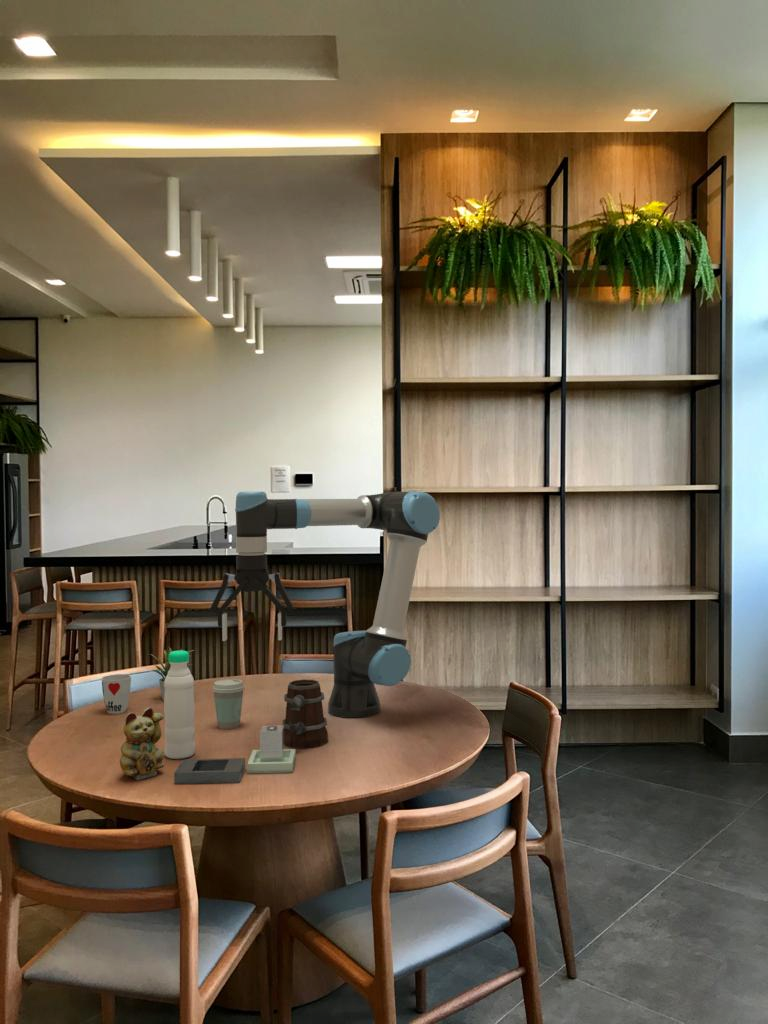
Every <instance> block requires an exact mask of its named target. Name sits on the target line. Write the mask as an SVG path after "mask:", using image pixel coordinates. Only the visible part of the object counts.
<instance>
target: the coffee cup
mask: <svg viewBox="0 0 768 1024" xmlns="http://www.w3.org/2000/svg"><path fill="white" fill-rule="evenodd" d="M244 690H245V685H244V683H243V680H242V679H238V678H225V679H219V680H216V681H214V683H213V686H212V691H213V698H214V706H215V715H216V721H217V728H219V729H222V730H233V729H236V728H239V727H240V726H241V718H242V708H243V698H244V697H243V696H244Z"/></svg>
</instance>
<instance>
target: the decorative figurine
mask: <svg viewBox="0 0 768 1024" xmlns="http://www.w3.org/2000/svg"><path fill="white" fill-rule="evenodd" d="M163 719H165V715H163V714H162V713H160V712H155V713H154V710H153V708H151V707H147V708H145V709H144V710H143V711H142V713H141V714H140V715H137V714H136V713H134V712H129V713H127V715H126V717H125V721H124V724H123V734H124V735H125V738H126V740H125V741H124V742H123V743H122V745H121V747H120V752H121V755H120V758H119V766H120V768H121V771H122V773H123V774H124V775H127V776H129V777H132V779H135V780H136V781H139V780H145V779H147V778H151V777H155V776H157V775H158V771H157V770H159V769H162V768H164V767H165V763H164V762H163V759H164V757H165V753H164V751H163V750H162V749H161V748H159V747H156V744H157V743H158V742H159V740H160V739H161V737H162V727H161V724H160V721H162V720H163Z"/></svg>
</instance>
